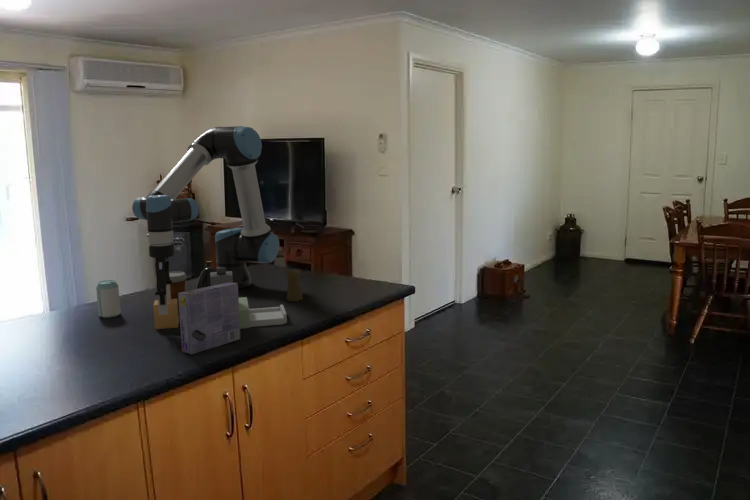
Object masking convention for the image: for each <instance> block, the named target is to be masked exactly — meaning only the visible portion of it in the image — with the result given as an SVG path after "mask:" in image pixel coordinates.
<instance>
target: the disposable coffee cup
mask: <svg viewBox="0 0 750 500" xmlns="http://www.w3.org/2000/svg"><path fill="white" fill-rule="evenodd" d="M169 275H170V280H172V283H171V284H170V292H171V299H177V301H178V309H179V299H178V293H180V292H185V291H186V289H185V288H186V279H187V275H186V273H185V272H184V271H169Z"/></svg>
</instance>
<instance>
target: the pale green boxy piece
mask: <svg viewBox="0 0 750 500" xmlns="http://www.w3.org/2000/svg"><path fill="white" fill-rule="evenodd" d="M215 269H216V272H210V282H211V286H214V285H219V284H224V283H233V276H232V271H226V268H225V267H218V268H217V267H216V268H215ZM238 299H239V319H240V330H242V329H250V328H251V327H252V328H254V327H266V326H267V327H268V326H279V325H285V324H288V318H287V317H288V316H287V312H286V309H285V307H284V304H279V306H273V307H262V308H259V307H258V308H250V307H249V302H248V301H249V300H248V298H247V296H245V297H238Z"/></svg>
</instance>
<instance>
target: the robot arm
mask: <svg viewBox="0 0 750 500" xmlns="http://www.w3.org/2000/svg"><path fill="white" fill-rule="evenodd" d="M262 148H263V145H262V139H261V137H260V135H259V133H258V131H256V130H255V129H254V128H252V127H251V126H250V127H249V126H243V125H240V126H239V125H238V126H237V125H236V126H216V127H211V128H209V129H207V130H205V131H204V132H202V133H201V134H199V136H197V137H196V138H195V139H194V140H193V141H192V142H191V143H190V144H189V145H188V146H187V149H186V150H187V151H186V153H185V154H184V155H183V156H182V157H181V158H180V159H179V160H178V162H177V163H176V164H175V165H174V166H173V167H172V168H171V169H170V170H169V171H168V172H167V173H166V175H165V176H163V178H162V179H161V180H160V181H159V183H158V184H156V186H155V187H154V188H153V189H152V190H151V191H150V192H149V193H148V194H147V196H141V197H137V198H135V199H134V201H133V203H132V207H131V210H132V213H133V215H134V216H135V217H136V218H137V219H140V220H144V221H146V222H147V234H146V235H145V237H146V238H148V244H149V245H148V255H149V257H150V258H153V259H155V258H156V259H157V261H155V265H154V267H155V274H156V292H154V295H155V296H157V300H158V307H159V315H166V314H168V302H167V299H171V292H170V284H171V283H172V280H170V275H169V272H170V261H169V258H171V257H173V256H175V247H174V244H173V243H174V241H175V239H174V229H173V227H174V226H173V224H177V223H183V222H189V221H192V220H195V219H196V218H197V217H198V215H199V213H200V211H199V209H200V208H199V207H200V206H199V204H198V203H197V201H196V200H195V199H193V198H190V197H189V198H187V197H186V198H185V197H182V198H177V197H178V196H179V195H180V193H182V192H183V190H184V189H185V188H186V187H187V186H188V184H190V182H191V181H192V180H193V179H194V178H195V176H196V175H197V174H198V173H199V172H200V171H201V170H202V168H203V167H204V166H208V165H209V164H210V163H211V162H212V161H214V160H216V159H225V163H226V166H227V167H228V168H230V169H231V172H232V175H233V176H232V177H233V181H234V186H235V190H236V191H235V192H236V197H237V202H238V207H239V210H240V211H239V213H240V216H241V222H242V226H243V227H234V228H228V229H223V230H219V231H217V232H216V233H215V235H214V236H215V237H214V239H215V240H214V246H215V247H214V248H215V262H216V268H218V267H225V268H226V271H232V276H233V283H237V284H238V290H239V289H243V288H247V287H250V286H251V285H252V278H251V275H250V273H249V269H248V268H247V263H248V262H249V263H256V264H257V263H258V264H270V263H271V262H274V260H275V259H276V258H277V256H278V253H279V250H280V239H279V236H278V235H277V234H276V233H272V229H271V226H269V225H268V224H267V223H266V218H265V213H264V212H265V211H264V208H263V203H262V198H261V197H262V196H261V192H260V187H259V182H258V175H257V170H256V165H257V163H258V161H259V157H260V156H261V153H262Z"/></svg>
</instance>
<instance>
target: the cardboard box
mask: <svg viewBox="0 0 750 500" xmlns="http://www.w3.org/2000/svg"><path fill="white" fill-rule="evenodd" d="M167 302H168V314H166V315H159V307H158V299H155V300H154V302H153V305H152V306H153V307H152V308H153V318H154V329H155V330H160V329H161V330H162V329H164V330H165V329H172V328H173V329H174V328H175V329H176V328H179V326H180V325H179V324H180V314H179V308H178V301H177V299H167Z"/></svg>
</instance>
